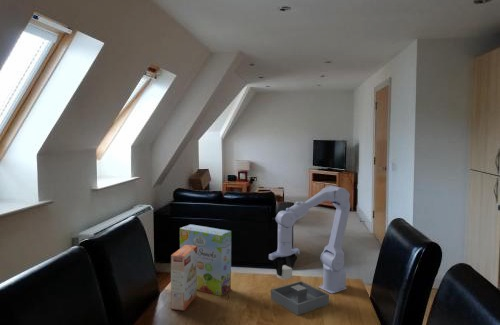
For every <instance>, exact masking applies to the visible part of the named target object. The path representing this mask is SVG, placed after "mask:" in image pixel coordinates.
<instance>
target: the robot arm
mask: <svg viewBox="0 0 500 325" xmlns="http://www.w3.org/2000/svg"><path fill="white" fill-rule="evenodd" d="M350 197H351V194H350V192H349V191H348V189H346V188H345V187H339V186H335V185H333V184H330V185H327V186H326V187H323V188H322V189H321V190H320V191H318V193H316V194H315V195H312V196H311V197H310V198H308V199H307V200H305V201H302V200H301V201H295V204H293V205H292V206H290V207H286V208H285V210H280V211H278V213H277V214H276V216H275V217H274V220H275V222H276V223H277V249H276V251H274V252H272V253H269V254H268V260H270V261H272V263H273V265H274V267H275V270H276V271H277V275H279V276H282V267H283V265H284V262H285V263H286V264H285V265H286V266H288V267H290V268H292V270H293V268H294V265H295V263H296V262H297V260H298V256H297V255H300V254H301V253H300V252H301V251H300V248H293V226H294V224H295V222H296V221H297V220H300V219H301V218H302V217H305V216H306V215H307V214H308V213H309V210H310V209H312V208H314V207H316V206H318V205H320V204H321V203H324V202H331V203H332V205H333V207H334V208H336V209H335V213H334V218H333V222H332V228H331V232H330V235H329V241H328V244H327V245H325V246H324V248H323V251H322V252H321V254H320V261H321V263H322V267H323V271H322V272H323V273H322V274H323V275H322V278H323V279H322V284H321V285H319V286H318V288H319V289H320V290H322V291H324V292H326V293H328V294H337V293H338V292H341V291H345V290H347V289H348V287H346V286H347V285H346V284H347V282H346V281H347V273H346V270H345V269H344V266H345V252H344V251H343V249H342V247H343V242H344V238H345V234H346V229H347V223H348V221H349V220H348V219H349V214H350V210H351V203H350ZM282 258H285V260H286V261H285V260H283V259H282Z"/></svg>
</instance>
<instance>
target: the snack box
mask: <svg viewBox="0 0 500 325" xmlns="http://www.w3.org/2000/svg"><path fill="white" fill-rule="evenodd" d="M184 245H191V246H197V291H201V292H203V293H205V292H206V293H208V294H211V295H215V296H219V297H222V296H223V295H225V294H226V293H227V292H228V293H229V291H231V289H232V287H231V286H232V285H231V284H232V283H231V282H232V230H228V229H222V228H221V229H220V228H215V227H209V226H203V225H196V224H188V225H185V226H182V227H179V249H180V248H182V247H183V246H184Z"/></svg>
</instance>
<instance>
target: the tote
mask: <svg viewBox="0 0 500 325" xmlns="http://www.w3.org/2000/svg"><path fill="white" fill-rule="evenodd" d="M296 285H301V286H303V287H305V288H307V301H304V302H301V303H296V302H294V301H293V300H291V299H290V294H291V287H292V286H296ZM270 300H272V301H273V302H274V303H277V304H278V305H279V306H281V307H283V308H284V309H286V310H288V311H290V313H293V314H295V315H297V316H300V315H303V314H307V313H308V312H309V313H310V312H312V311H314V310H318V309H320V308H323V307H326V306H329V305H330V293H328V292H326V291H324V290H322V289H320V288H319V289H318V288H316V287H315V286H312V285H310V284H309V283H306V282H305V281H302V280H299V281H296V282H293V283H289V284H285V285H282V286H279V287H275V288H272V289H270ZM317 308H318V309H317Z"/></svg>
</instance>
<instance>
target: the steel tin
mask: <svg viewBox="0 0 500 325" xmlns="http://www.w3.org/2000/svg"><path fill="white" fill-rule="evenodd" d="M290 299H291V300H293V301H294V302H296V303H301V302H304V301H307V288H305V287H303V286H301V285H296V286H292V287H291V294H290Z"/></svg>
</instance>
